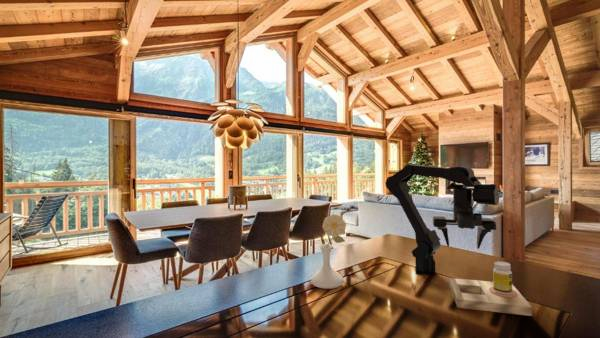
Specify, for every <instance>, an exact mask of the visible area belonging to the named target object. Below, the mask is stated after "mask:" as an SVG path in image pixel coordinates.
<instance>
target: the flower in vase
mask: <svg viewBox="0 0 600 338" xmlns="http://www.w3.org/2000/svg"><path fill="white" fill-rule="evenodd" d="M346 227H347V222H346V221H345V220H344V217H342V216H341V215H339V214H335V213H333V214H331V215H330V214H329V215H328V216H327V217H325V218H324V220H323V222H322V229H323V231H324V233H325V234H326V235H327V236H330V237H331V238H330V239H329V241H328V240H327V239H325V238H323V237H320V236H319V239H321V240H323V241H325V242H327V243H322V244H319V245H318V248H319V249H320V250H321V253H322V259H323V261H322V262H323V264H322V267H321V268H320V269H318V270H317V272H314V274H313V275H312V276H311V278H310V282H311V284H312V285H313V286H314V287H317V288H319V289H326V290H329V289H336V288H339V287H340V286H342V285H343V284H344V282H345V281H344V278H343V276H342V275H341V274H340V273H339V272H337V271H336V270H335V269H333V268H332V266H331V262H330V261H331V259H330V258H331V251H332V249H333V248H334V245H333V244H331V242H332V240H333V241H334V242H335V243H336V244H340V243H343V242H345V239H344V238H343V237H342V236H341V235H343V234H344V233H345V230H346Z"/></svg>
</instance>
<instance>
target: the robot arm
mask: <svg viewBox="0 0 600 338" xmlns="http://www.w3.org/2000/svg"><path fill="white" fill-rule="evenodd" d="M414 176H421V177H430V178H431V177H432V178H440V179H444V180H446V181H449V182H450V184H449V185H448V186H447V187H446V189H447V190H452V191H453V193H452V194H453V197H452V198H453V199H452V200H453V201H452V202H453V203H452V204H453V209H452V210H453V211H452V212H453V219H446V218H447V217H446V216H439V215H438V216H436V215H434V216H433V217H432V224H433V225H432V226H433V228H437V230H440V231H442V235H443V237H444V241H445V243H446V246H447V247H450V240H449V232H448V227H447V226H457V227H458V228H459V229H470V230H473V229H474V230H475V228H476V227H477V236H476V249H478V250H480V248H481V245H482V242H483V241H484V238H485V236H486V235H487V234H488V233H491V232H492V231H495V230H497V223H496V222H495V221H494V220H493V219H492V218H491V217H489V218H488V217H487V218H486V217H483V215H482V213H481V212H480V213H479V212H477V213H476V212H475V213H474V211H473V202H475V203H476V204H477V205H486V206H487V205H488V206H498V205H499V202H500V193H499V189H498V184H497V183H489V184H488V183H486V184H485V183H481V181H480V180H479V179H478V178H477V176H476V175H475V172H474V170H473V168H472V167H471V166H468V165H461V166H449V167H443V166H442V167H441V166H433V165H432V166H431V165H422V164H421V165H420V164H415V163H412V164H411V163H410V164H406V165H405V166H404V167H402V169H400V170H399V171H397V172H395V173H394V174H393V175H390V176H388V177H387V178H386V180H385V183H384V184H385V187H386V189H387V190H388V191H389V193H390V194H391V195H393V197H395V198H396V199H397V201H398V202H399V205H400V206H401V208H402V211H403V212H404V215H405V216H406V218H407V219H408V221H409V223H410V226H411V227H412V229H413V231H414V234H415V236H414V237H415V243H416V245H417V246H416V247H415V248H413V249H412V250H411V254H412V257H413V258H414V259H415V266H414V269H415V274H419V275H427V276H429V275H430V276H435V274H436V273H435V272H436V260H435V258H434V255H435V254H436V252H437V251H438V250H439V249H440V247H441V238H440V237H439V236H438V234H437V231H436V230H435V229H433V230H431V229H430V228H428V226H427V225H426V223H425V221H424V220H423V217H422V216H421V214H420V212H419V210H418V209H417V206H416V204H415V203H414V201H413V199H412V197H411V195H410V193H409V185H408V182H409V181H411V179H412V178H413V177H414Z"/></svg>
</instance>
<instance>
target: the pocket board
mask: <svg viewBox="0 0 600 338" xmlns="http://www.w3.org/2000/svg"><path fill="white" fill-rule="evenodd" d="M448 287H449V288H450V291H451V294H452V296H453V300H454V302H455V304H456V307H457V308H459V309H466V310H476V311H482V312H483V311H484V312H493V313H500V314H501V313H502V314H503V313H504V314H508V315H509V314H512V315H519V316H521V315H522V316H528V317H533V306H532V305H531V304H530V303H529V302H528V301H527V299H526V298H525V297H524V296H523V295H522V294H521V293H520V291H519V290H518V288H516V286H514V284H513V283H512V290H514V291H515V292H517V294H518V296H517V297H514V298H506V297H501V296H497V295H495V294H493V293H491V292H490V291H489V288H490V287H493V281H489V280H487V281H486V280H478V279H477V280H476V279H465V278H457V277H456V278H454V277H453V278H452V277H449V278H448Z"/></svg>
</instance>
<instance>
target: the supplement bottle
mask: <svg viewBox="0 0 600 338" xmlns="http://www.w3.org/2000/svg"><path fill="white" fill-rule="evenodd" d="M493 266H494V268H493V270H492V276H493V278H492V282H493V289H494V291H496V292H497V293H501V294H511V293H512V284H513V271H511V269H512V267H511V263H510V262H506V261H500V260H499V261H494V265H493Z"/></svg>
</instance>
